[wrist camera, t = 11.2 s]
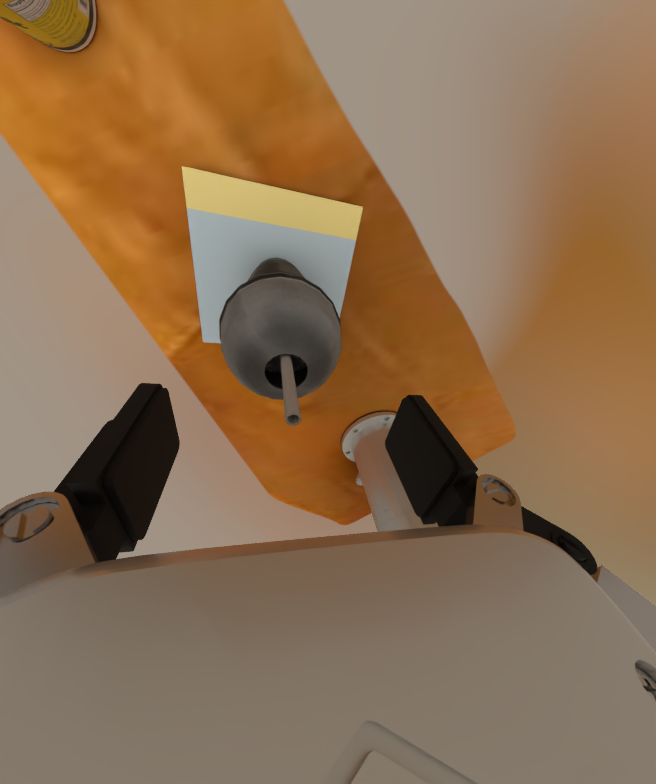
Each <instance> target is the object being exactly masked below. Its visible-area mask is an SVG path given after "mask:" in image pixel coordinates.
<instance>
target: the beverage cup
mask: <svg viewBox="0 0 656 784" xmlns="http://www.w3.org/2000/svg"><path fill="white" fill-rule="evenodd" d="M219 331H220V341H221V348H222V352H223V355H224V357H225V360H226V362H227V365H228V367H229V369H230V371H231V372H232V373H233V374H234V375H235V377H236V378H237V379H238V380H239V381H240V382H241V384H243V385H244V386H245V387H247V388H248V389H250V390H251V391H253V392H255V393H256V394H258V395H261V396H264V397H268V398H271V399H281V400H284V409H285V420H286V422H287V424H289V425H293V426H294V425H296V424H299V422H300V420H301V415H300V409H299V403H298V398H300V397H302V396H304V395H307V394H309V393H311V392H313V391H315V390H316V389H317V388H319V387H320V386H321V385H322V384H323V383H325V382H326V380H327V379H328V378H329V376H330V375H331V373H332V372H333V370H334V369H335V367H336V364H337V361H338V357H339V354H340V350H341V329H340V318H339V315H338V313H337V311H336V308H335V306H334V303H333V302H332V300H331V299H330V298H329V297H328V296H327V295H326V294H325V292H324V291H323V290H322V289H321V288H320V287H318V286H317V285H315V284H313V283H312V282H310V281H308V280H306V279H305V277H304V276H303V275H302V274H301V273H300V271H299V270H298V269H297V268H296V267H295V266H294V265H293V264H292V263H290V262H288V261H287V260H285V259H281V258H277V257H276V258H269V259H267V260H265V261H263V262H261V264H259V265H258V267H257V268H256V269H255V270H254V271H253V273H252V274H251V276H250V278H249V279H248V281H247V282H246V283H244V284H242V285H240V286H239V287H238V288H237V289H236V290H235V291H234V292H233V294H232V295H231V296H230V297H229V298H228V299H227V300H226V302H225V305H224V308H223V310H222V313H221V316H220V318H219Z"/></svg>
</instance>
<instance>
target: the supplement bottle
mask: <svg viewBox="0 0 656 784" xmlns="http://www.w3.org/2000/svg"><path fill="white" fill-rule="evenodd" d="M0 17H1V18H2V19H4V20H6V21H7V22H9V23H10V24H12V25H14V26H15V27H17V28H18V29H20V30H22V31H23V32H25V33H26V34H28V35H29V36H31V37H33V38H34V39H36V40H38V41H39V42H41V43H43V44H45V45H47V46H49V47H51V48H53V49H56V50H59V51H64V52H76V51H79V50H81V49H83V48H84V47H86V46H87V45H88V44H89V42H90V41H91V39H92V37H93V35H94V32H95V27H96V6H95V0H0Z"/></svg>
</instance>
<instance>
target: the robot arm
mask: <svg viewBox="0 0 656 784" xmlns="http://www.w3.org/2000/svg"><path fill="white" fill-rule="evenodd" d="M341 446H342V450H343V453H344V455H345V456H346V457H347V458H348V459H349V460H351V461H353V462H356V465H357V468H358V472H359V473H358V474H357V477H356V480H355V481H356V483H357V484H358V485H359V486H363V487H364V490H365V493H366V496H367V500H368V503H369V506H370V509H371V512H372V515H373V518H374V521H375V524H376V528H377V531H378V532H371V533H360V534H349V535H338V536H327V537H317V538H306V539H295V540H285V541H275V542H265V543H255V544H244V545H234V546H224V547H214V548H204V549H195V550H185V551H177V552H168V553H160V554H151V555H142V556H135V557H128V558H122V559H116V558H117V555H118V553H119V552H130V551H134V548H135V546H136V543H137V541H138V540H142V539H143V538H144V537H145V535H146V532H147V530H148V527H149V525H150V522H151V520H152V517H153V515H154V512H155V509H156V507H157V504H158V502H159V499H160V496H161V494H162V491H163V489H164V486H165V483H166V481H167V478H168V476H169V473H170V471H171V468H172V465H173V463H174V460H175V457H176V455H177V453H178V450H179V437H178V433H177V428H176V423H175V419H174V415H173V410H172V406H171V401H170V397H169V392H168V390H167V389H166V388H163V387H162V385H161V384H149V383H141V384H140V385H139V386H138V387H137V388H136V390H135V391H134V392H133V394H132V395H131V397H130V398H129V399H128V400H127V402H126V403H125V405H124V406H123V407H122V409H121V410H120V411H119V413H118V414H117V415H116V417H115V418H114V419H113V420H111V421H108V422H107V423H106V424H105V425H104V426H103V428H102V429H101V430H100V432H99V433H98V434H97V436H96V437H95V438H94V440H93V441H92V442H91V444H90V445H89V446H88V447H87V449H86V450H85V452H84V453H83V454H82V455H81V457H80V458H79V459H78V461H77V462H76V463H75V465H74V466H73V467H72V468H71V470H70V471H69V473H68V474H67V475H66V476H65V478H64V479H63V480H62V482H61V483H60V484H59V486H58V487H57V488H56V489H55V491H54V492H41V493H36V494H31V495H29V496H26V497H23V498H20V499H18V500H16V501H14V502H12V503H10V504H8V505H6V506H5V507H3V508H2V509H1V510H0V784H656V606H654V605H653V604H651V602H649V601H648V600H647V599H645V598H644V597H643V596H641V595H640V594H639V593H638V592H636V591H635V590H634V589H632V588H631V587H630V586H628V585H627V584H626V583H625V582H623V581H622V580H621V579H619V578H618V577H617V576H615V575H614V574H613V573H611V572H610V571H609V570H608V569H606V568H605V567H604V566H602V565H601V566H600V567H597V564H596V561H595V559H594V557H593V556H592V554H591V553H590V551H589V550H588V549H587V548H586V547H585V545H583V543H582V542H580V541H579V540H578V539H577V538H575V537H574V536H572V535H571V534H570V533H568V532H566V531H564V530H563V529H561V528H559V527H557V526H556V525H554V524H552V523H550V522H548V521H547V520H545V519H543V518H542V517H540V516H538V515H536V514H534V513H533V512H531V511H529V510H527V509H526V508H524V507H522V506H521V502H520V498H519V496H518V494H517V493H516V491H515V490H514V489H513V488H512V487H511V486H510V485H509V484H508V483H506V482H505V481H504V480H502V479H500V478H498V477H496V476H493V475H490V474H483V475H480V476H479V477H478V476H477V474H476V473H475V472H476V471H477V470H478V468H477V467H476V466H475V464H474V463H473V462H472V460H471V459H470V458H469V456H468V455H467V454H466V452H465V451H464V450H463V449H462V447H461V446H460V445H459V443H458V442H457V441H456V439H455V438H454V437H453V435H452V434H451V433H450V431H449V430H448V429H447V428H446V426H445V425H444V424H443V422H442V421H441V420H440V418H439V417H438V416H437V414H436V413H435V412H434V411H433V409H432V408H431V407H430V405H429V404H428V403H427V401H426V400H425V399H424V397H423V396H421V395H408V396H407V397H406V398H404V399H403V400H402V402H401V404H400V407H399V409H398V411H397V413H394V412H377V413H372V414H369V415H367V416H364V417H362V418H360V419H359V420H357V421H356V422H354V423H353V424H352V425H351V426H350V427H349V428H348V429H347V430H346V431H345V433H344V435H343V437H342V441H341Z"/></svg>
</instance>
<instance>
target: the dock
mask: <svg viewBox="0 0 656 784" xmlns="http://www.w3.org/2000/svg"><path fill="white" fill-rule="evenodd" d="M182 174H183V182H184V190H185V198H186V206H187V215H188V223H189V231H190V239H191V248H192V256H193V264H194V272H195V280H196V289H197V297H198V305H199V313H200V322H201V330H202V338H203V342H208V343H221V341H220V331H219V318H220V316H221V313H222V310H223V308H224V305H225V302H226V300H227V299H228V298H229V297H230V296H231V295H232V294H233V292H234V291H235V290H236V289H237V288H238V287H239V286H240V285H242V284H244V283H246V282H247V281H248V279H249V278H250V276H251V274H252V273H253V271H254V270H255V269H256V268H257V267H258V265H259V264H261V262H263V261H265V260H267V259H269V258H276V257H277V258H281V259H285V260H287V261H288V262H290V263H292V264H293V265H294V266H295V267H296V268H297V269H298V270H299V271H300V273H301V274H302V275H303V276H304V277H305V279H306V280H308V281H310V282H312V283H313V284H315V285H317V286H318V287H320V288H321V289H322V290H323V291H324V292H325V294H326V295H327V296H328V297H329V298H330V299H331V300H332V302H333V303H334V306H335V308H336V311H337V313H338V315H339V318H340V314H341V309H342V305H343V300H344V295H345V290H346V286H347V281H348V276H349V271H350V267H351V262H352V257H353V252H354V248H355V243H356V238H357V233H358V229H359V224H360V219H361V214H362V210H363V207H361V206H357V205H352V204H348V203H343V202H339V201H335V200H330V199H326V198H321V197H317V196H312V195H308V194H304V193H299V192H295V191H290V190H286V189H281V188H277V187H273V186H268V185H264V184H259V183H255V182H250V181H246V180H242V179H237V178H233V177H228V176H224V175H220V174H215V173H211V172H206V171H202V170H197V169H193V168H189V167H184V166H182Z"/></svg>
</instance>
